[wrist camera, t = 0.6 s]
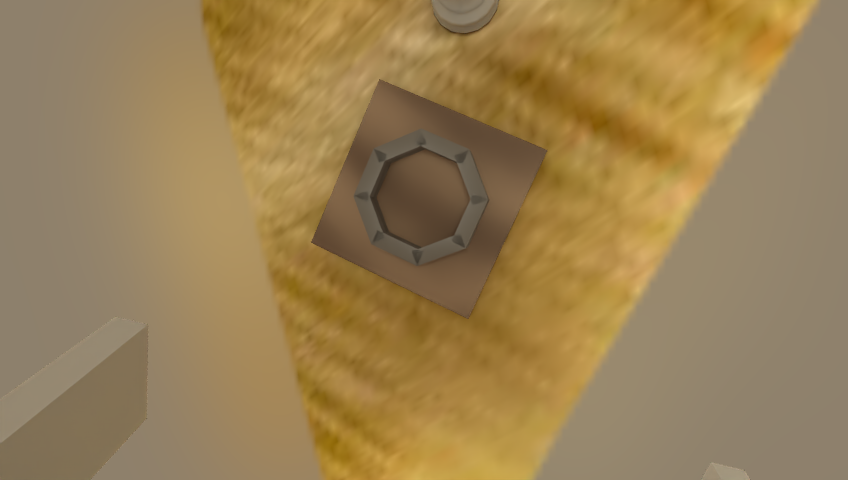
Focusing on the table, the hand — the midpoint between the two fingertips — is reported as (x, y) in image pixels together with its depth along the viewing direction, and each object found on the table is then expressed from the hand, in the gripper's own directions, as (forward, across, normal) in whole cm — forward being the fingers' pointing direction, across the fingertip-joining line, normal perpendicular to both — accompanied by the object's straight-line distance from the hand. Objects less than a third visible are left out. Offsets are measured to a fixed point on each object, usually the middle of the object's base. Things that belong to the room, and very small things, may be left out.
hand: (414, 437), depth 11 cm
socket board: (+23, -2, -1) cm, 23 cm away
